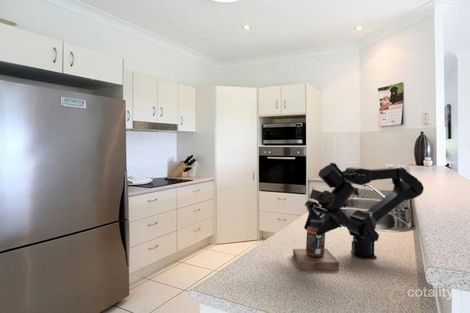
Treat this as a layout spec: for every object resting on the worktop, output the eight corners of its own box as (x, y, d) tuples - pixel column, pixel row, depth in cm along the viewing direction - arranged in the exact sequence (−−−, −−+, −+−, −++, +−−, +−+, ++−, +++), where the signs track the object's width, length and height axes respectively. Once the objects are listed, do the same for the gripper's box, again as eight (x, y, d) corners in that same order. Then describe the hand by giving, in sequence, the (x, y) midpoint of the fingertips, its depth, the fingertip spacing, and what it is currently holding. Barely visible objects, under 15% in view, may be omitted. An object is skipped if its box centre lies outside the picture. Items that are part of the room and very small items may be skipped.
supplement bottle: (323, 258, 91) (324, 223, 91) (304, 255, 93) (305, 221, 93) (325, 253, 96) (326, 220, 96) (307, 250, 99) (308, 218, 99)
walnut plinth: (326, 255, 101) (326, 248, 101) (338, 270, 89) (338, 262, 89) (293, 255, 101) (293, 248, 101) (300, 270, 89) (300, 262, 89)
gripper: (309, 178, 104) (282, 210, 101) (342, 184, 86) (310, 223, 83) (327, 198, 106) (302, 230, 104) (363, 207, 89) (333, 246, 86)
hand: (310, 231), depth 94 cm, fingers open, 7 cm apart
